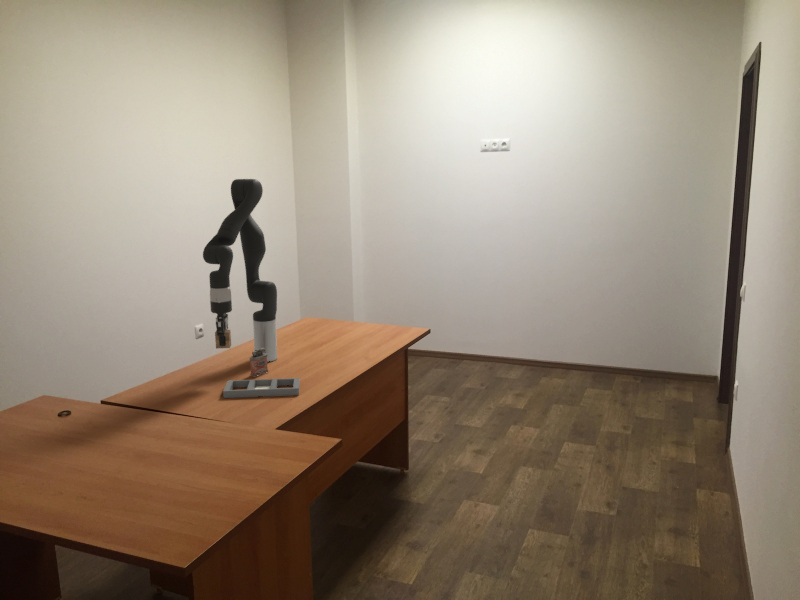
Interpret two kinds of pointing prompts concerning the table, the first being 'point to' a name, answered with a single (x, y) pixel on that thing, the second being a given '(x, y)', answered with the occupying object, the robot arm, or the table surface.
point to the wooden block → (227, 338)
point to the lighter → (258, 362)
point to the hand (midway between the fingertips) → (223, 343)
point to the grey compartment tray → (261, 387)
